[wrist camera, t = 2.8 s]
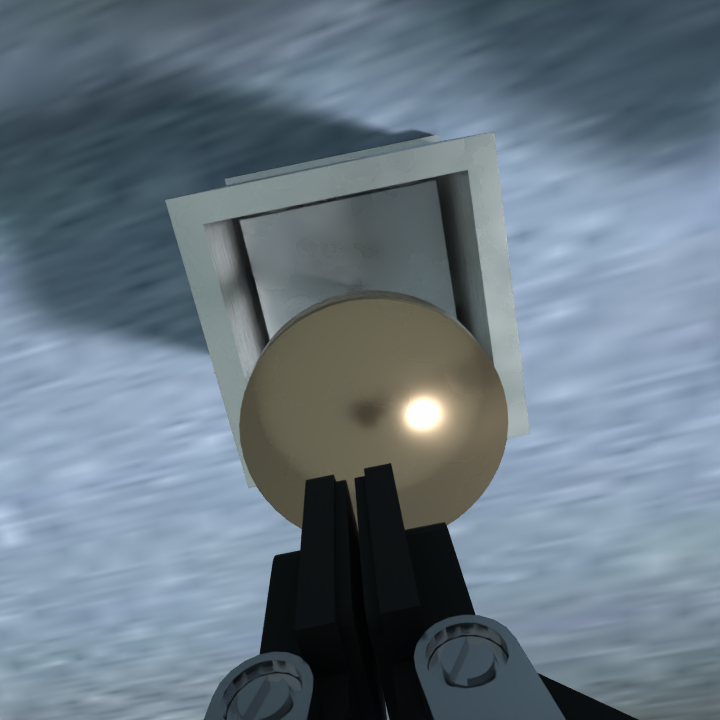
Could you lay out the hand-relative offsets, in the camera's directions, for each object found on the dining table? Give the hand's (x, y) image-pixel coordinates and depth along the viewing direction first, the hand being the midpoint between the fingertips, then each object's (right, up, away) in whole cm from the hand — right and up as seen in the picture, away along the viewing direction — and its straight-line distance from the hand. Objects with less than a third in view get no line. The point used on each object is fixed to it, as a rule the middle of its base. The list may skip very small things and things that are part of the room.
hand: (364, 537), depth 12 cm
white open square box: (-1, +10, +31) cm, 33 cm away
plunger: (0, +7, +20) cm, 22 cm away
